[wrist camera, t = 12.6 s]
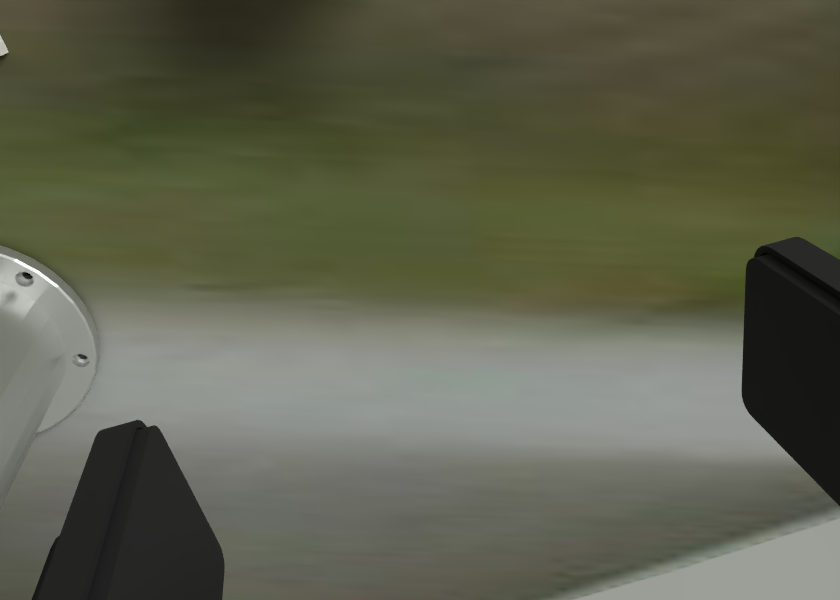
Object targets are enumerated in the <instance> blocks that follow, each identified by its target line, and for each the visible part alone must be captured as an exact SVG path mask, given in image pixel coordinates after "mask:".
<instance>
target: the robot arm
mask: <svg viewBox="0 0 840 600" xmlns="http://www.w3.org/2000/svg"><path fill="white" fill-rule="evenodd" d="M25 272H27V273H29V274H30V275H31V276H29V275H27V274H26V273H25ZM82 354H83V355H82ZM98 362H99V339H98V336H97V332H96V328H95V325H94V322H93V320H92V318H91V316H90V314H89V312H88V310H87V308H86V306H85V304H84V303H83V302H82V301H81V299H80V298H79V297H78V296H77V294H76V293H75V292H74V291H73V289H72V288H71V287H70V286H69V285H68V284H67V283H66V282H64V281H63V280H62V279H61V278H60V277H59V276H58V275H57V274H55V273H54V272H53V271H52V270H50V269H48V268H47V267H45V266H44V265H42V264H41V263H39V262H37V261H36V260H34V259H33V258H31V257H28V256H26V255H24V254H21V253H19V252H17V251H15V250H12V249H10V248H7V247H4V246H0V507H1V505H2V503H3V501H4V499H5V497H6V495H7V493H8V491H9V489H10V487H11V485H12V483H13V480H14V478H15V476H16V474H17V472H18V470H19V468H20V466H21V464H22V462H23V460H24V458H25V456H26V454H27V452H28V449H29V447H30V445H31V443H32V441H33V439H34V437H35V435H36V434H37V433H40V432H42V431H45V430H47V429H50V428H52V427H53V426H55V425H56V424H58V423H59V422H61V421H62V420H64V419H66V418H67V417H68V416H69V415H70V414H71V413H72V412H73V411H74V410H75V409H76V408H77V407H78V406H79V405H80V404H81V402H82V401H83V399H84V398H85V396H86V395H87V393H88V392H89V390H90V388H91V385H92V383H93V380H94V378H95V375H96V372H97V367H98ZM742 398H743V402H744V405H745V407H746V409H747V411H748V412H749V414H750V415H751V416H752V417H753V418H754V419H755V420H756V421H757V422H758V423H759V424H760V425H761V426H762V427H763V428H764V429H765V430H766V431H767V432H768V433H769V434H770V435H771V436H772V437H773V438H774V440H775V441H776V442H777V443H778V444H779V445H780V446H781V447H782V448H783V449H784V450H785V451H786V452H787V453H788V454H789V455H790V456H791V457H792V458H793V459H794V460H795V461H796V462H797V463H798V464H799V465H800V466H801V467H802V468H803V469H804V470H805V471H806V472H807V473H808V474H809V475H810V476H811V477H812V478H813V479H814V480H815V481H816V482H817V483H818V484H819V485H820V486H821V487H822V488H823V489H824V491H825V492H826V493H827V494H828V495H829V496H830V497H831V498H832V499H833V500H834V501H835V502H836V503H837V504H838V505H839V506H840V260H839V259H837V258H835V257H834V256H832V255H830V254H829V253H827V252H825V251H823V250H822V249H820V248H818V247H817V246H815V245H813V244H811V243H810V242H808V241H806V240H805V239H802V238H800V237H793V238H789V239H786V240H782V241H778V242H775V243H771V244H768V245H764V246H761V247H760V248H758V249H757V251H756V253H755V255H754V258H752V259H750V260H749V261H748V263H747V266H746V285H745V313H744V341H743V369H742ZM223 581H224V558H223V553H222V550H221V547H220V545H219V543H218V541H217V539H216V537H215V535H214V533H213V531H212V529H211V527H210V525H209V523H208V521H207V519H206V517H205V515H204V514H203V512H202V510H201V508H200V506H199V504H198V502H197V500H196V498H195V496H194V494H193V492H192V490H191V488H190V487H189V485H188V483H187V481H186V479H185V477H184V475H183V473H182V471H181V469H180V467H179V465H178V463H177V461H176V459H175V458H174V456H173V454H172V452H171V450H170V448H169V446H168V444H167V442H166V440H165V438H164V436H163V434H162V433H161V431H160V429H159V428H158V427H157V426H150V427H146V425H145V424H144V423H143V422H142V421H140V420H136V421H132V422H129V423H125V424H121V425H118V426H114V427H111V428H107V429H103V430H101V431H99V432H98V433H97V435H96V437H95V440H94V443H93V445H92V448H91V451H90V454H89V456H88V459H87V462H86V465H85V468H84V470H83V473H82V476H81V479H80V481H79V484H78V487H77V490H76V492H75V495H74V498H73V501H72V503H71V506H70V509H69V512H68V514H67V517H66V520H65V523H64V526H63V528H62V531H61V534H60V536H59V537H57V538H56V539H55V541H54V543H53V545H52V547H51V549H50V552H49V554H48V557H47V560H46V562H45V565H44V568H43V571H42V573H41V576H40V579H39V581H38V584H37V587H36V590H35V592H34V595H33V598H32V600H222V593H223Z"/></svg>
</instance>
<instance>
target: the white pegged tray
mask: <svg viewBox="0 0 840 600" xmlns="http://www.w3.org/2000/svg"><path fill="white" fill-rule="evenodd" d="M6 53H8V50H7V48H6V46H5V44H4V42H3V40H2V38H1V36H0V56H2V55H4V54H6Z"/></svg>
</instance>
